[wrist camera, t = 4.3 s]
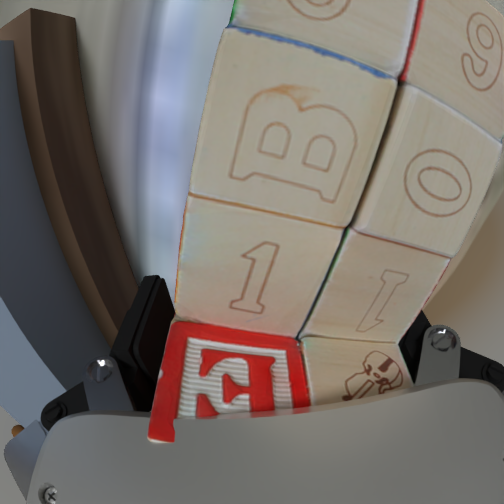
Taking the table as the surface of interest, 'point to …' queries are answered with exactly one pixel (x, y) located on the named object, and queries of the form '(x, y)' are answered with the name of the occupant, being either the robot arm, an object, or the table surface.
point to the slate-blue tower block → (34, 279)
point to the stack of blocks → (327, 198)
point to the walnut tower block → (69, 163)
